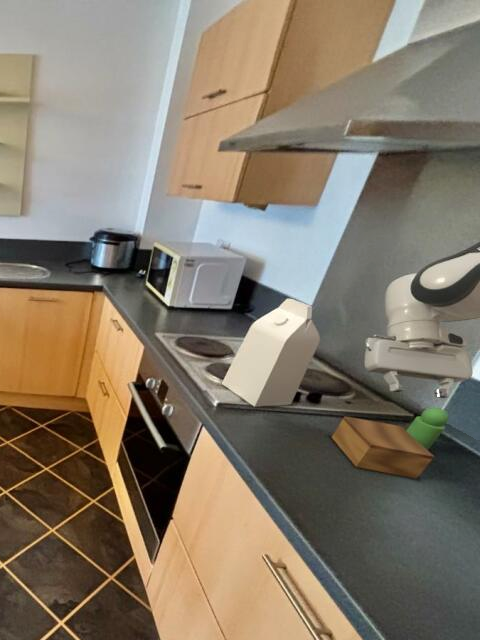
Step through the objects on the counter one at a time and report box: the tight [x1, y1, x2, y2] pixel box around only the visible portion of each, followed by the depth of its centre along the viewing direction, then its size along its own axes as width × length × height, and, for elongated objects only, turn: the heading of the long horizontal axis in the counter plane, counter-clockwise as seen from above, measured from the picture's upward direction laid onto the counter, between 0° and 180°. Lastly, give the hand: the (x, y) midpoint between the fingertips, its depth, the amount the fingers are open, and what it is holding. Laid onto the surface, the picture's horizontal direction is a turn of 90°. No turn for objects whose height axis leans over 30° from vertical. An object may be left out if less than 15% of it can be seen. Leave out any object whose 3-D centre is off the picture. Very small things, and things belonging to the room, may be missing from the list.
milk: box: [221, 298, 321, 408], centre depth 107 cm, size 12×12×26 cm
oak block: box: [331, 416, 435, 479], centre depth 90 cm, size 11×11×6 cm
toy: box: [405, 407, 450, 451], centre depth 93 cm, size 5×5×10 cm
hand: (419, 394), depth 96 cm, fingers open, 8 cm apart
